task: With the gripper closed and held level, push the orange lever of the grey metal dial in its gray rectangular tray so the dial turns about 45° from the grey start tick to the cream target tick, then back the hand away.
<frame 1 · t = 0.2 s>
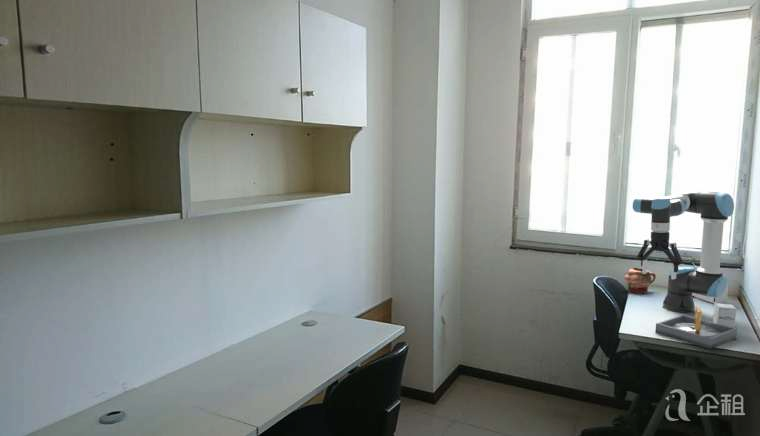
hand: (658, 276, 239), 27 cm above the table, tool pointing down, fingers open, 13 cm apart
gray rectangular tray: (694, 335, 239), on the table
supplement box: (722, 331, 245), on the table
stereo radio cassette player: (705, 299, 298), on the table
orange ceramic pot: (639, 291, 314), on the table
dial: (696, 319, 237), point 8 cm above the table, hinge at 0.0°
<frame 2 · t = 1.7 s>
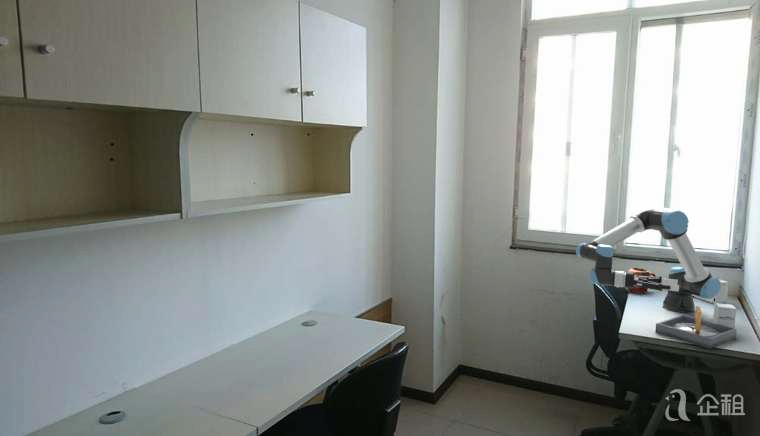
hand: (678, 285, 235), 24 cm above the table, tool horizontal, fingers open, 10 cm apart
nothing on the table moved.
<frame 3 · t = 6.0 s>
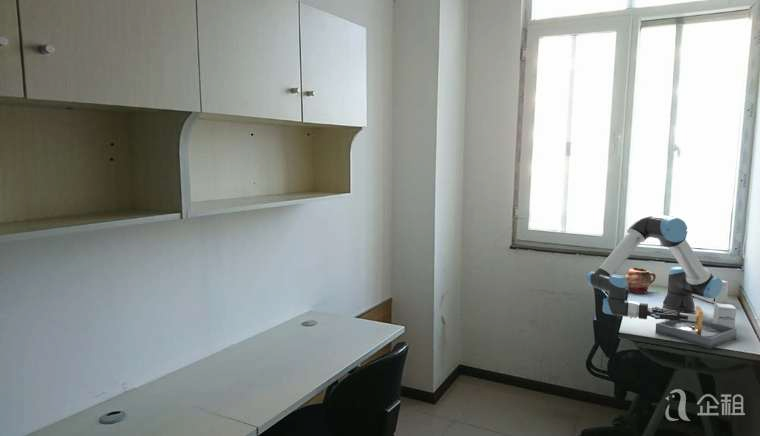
hand: (696, 318, 232), 10 cm above the table, tool horizontal, fingers closed
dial: (696, 319, 237), point 8 cm above the table, hinge at 3.8°, touching gripper
everything else where it was.
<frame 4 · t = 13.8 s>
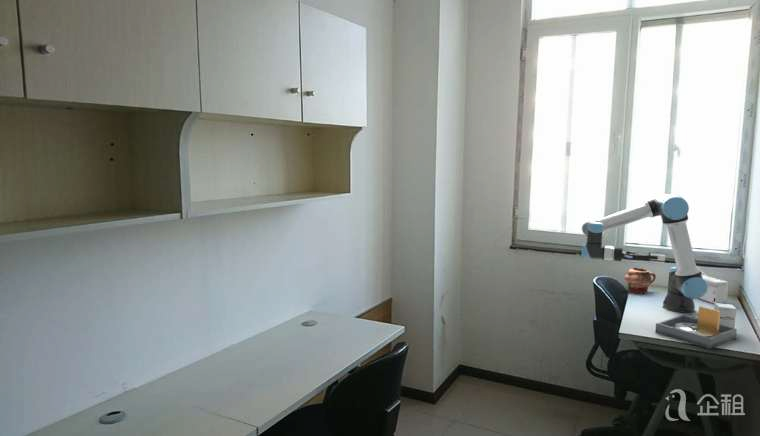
hand: (665, 258, 257), 32 cm above the table, tool horizontal, fingers closed
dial: (697, 319, 237), point 8 cm above the table, hinge at 57.4°
everything else where it was.
at the end: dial at +57° (first picture: +0°); supplement box tilted 0° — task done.
